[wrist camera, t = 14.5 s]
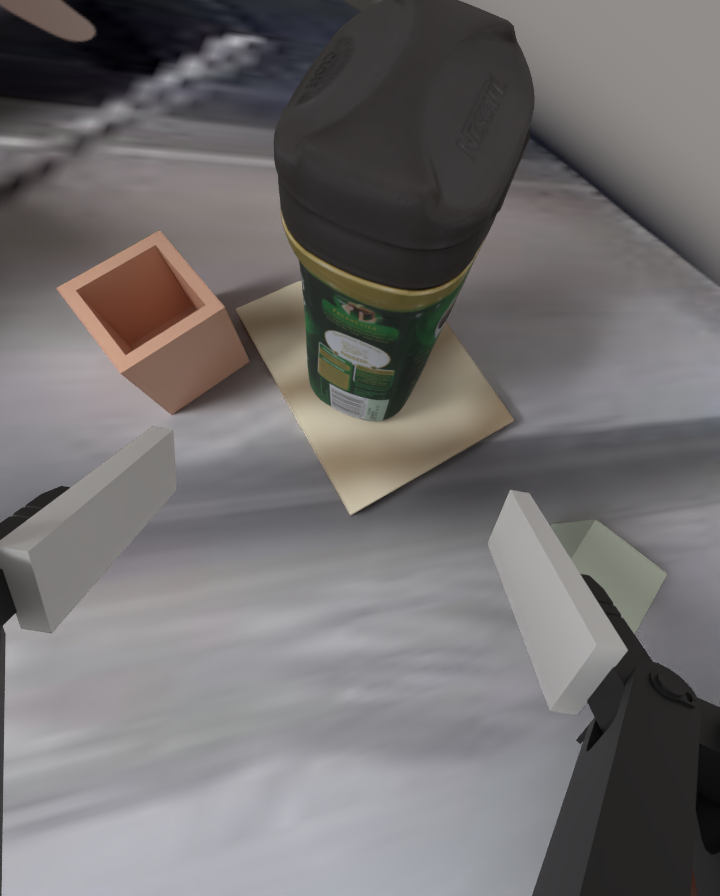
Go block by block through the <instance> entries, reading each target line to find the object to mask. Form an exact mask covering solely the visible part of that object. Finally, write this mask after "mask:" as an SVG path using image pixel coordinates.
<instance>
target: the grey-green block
mask: <svg viewBox="0 0 720 896" xmlns="http://www.w3.org/2000/svg"><path fill="white" fill-rule="evenodd" d="M550 527H551V528H552V530H553V532H554V533H555V535H556V536H557V538H558V540H559V541H560V543H561V544H562V546H563V548H564V549H565V551H566V552H567V554H568V555H569V557H570V559H571V560H572V562H573V563H574V565H575V567H576V568H577V570H578V571H579V573H580V574H585V575H590V576H591V577H592V578H593V579H594V580H595V581H596V582H597V583H598V584H599V585H600V586H601V587H602V588H604V590H605V591H606V593H607V594H608V596H609V597H610V599H611V600H612V602H613V606H616V608H617V609H618V611H619V612H620V614H621V618H624V620H625V621H626V623H627V624H628V626H629V627H630V629H631V630H632V632H633V633H634V635H635V633H636V631H637V629H638V627H639V625H640V624H641V622H642V620H643V618H644V616H645V614H646V613H647V611H648V609H649V607H650V605H651V603H652V601H653V600H654V598H655V596H656V594H657V592H658V590H659V589H660V587H661V585H662V583H663V581H664V579H665V578H666V576H667V573H666V572H664V571H663V570H662V569H660V568H659V567H658V566H656V565H655V564H654V563H653V562H651V561H650V560H649V559H647V558H646V557H645V556H643V555H642V554H641V553H640V552H638V551H637V550H636V549H634V548H633V547H632V546H630V545H629V544H628V543H626V542H625V541H624V540H623V539H621V538H620V537H619V536H617V535H616V534H615V533H613V532H612V531H611V530H609V529H608V528H607V527H606V526H604V525H603V524H602V523H600V522H599V521H598V520H596V519H592V520H583V521H575V522H566V523H557V524H551V525H550Z"/></svg>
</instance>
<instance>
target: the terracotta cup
mask: <svg viewBox="0 0 720 896" xmlns="http://www.w3.org/2000/svg"><path fill="white" fill-rule="evenodd" d="M56 289H57V290H58V291H59V293H60V294H61V295H62V297H63V298H64V299H65V301H66V302H67V303H68V305H69V306H70V307H71V309H72V310H73V311H74V312H75V314H76V315H77V316H78V318H79V319H80V320H81V322H82V323H83V324H84V326H85V327H86V328H87V330H88V331H89V332H90V334H91V335H92V336H93V338H94V339H95V340H96V342H97V343H98V344H99V346H100V347H101V348H102V350H103V351H104V352H105V354H106V355H107V356H108V357H109V359H110V360H111V361H112V363H113V364H114V365H115V367H116V368H117V369H118V371H119V372H120V373H121V374H122V375H123V376H124V377H126V378H127V379H128V380H129V381H131V382H132V383H133V384H134V385H135V386H137V387H138V388H139V389H140V390H142V391H143V392H144V393H145V394H147V395H148V396H149V397H150V398H151V399H153V400H154V401H155V402H156V403H158V404H159V405H160V406H161V407H163V408H164V409H165V410H166V411H167V412H169V413H170V414H171V415H172V414H174V413H175V412H177V411H178V410H180V409H181V408H183V407H184V406H185V405H187V404H188V403H190V402H191V401H193V400H194V399H196V398H197V397H199V396H200V395H202V394H203V393H205V392H206V391H208V390H209V389H210V388H212V387H213V386H215V385H216V384H218V383H219V382H221V381H222V380H224V379H225V378H227V377H228V376H230V375H231V374H233V373H234V372H235V371H237V370H238V369H240V368H241V367H243V366H244V365H246V364H247V363H249V362H250V361H249V358H248V356H247V354H246V352H245V350H244V348H243V345H242V343H241V341H240V339H239V337H238V335H237V332H236V330H235V328H234V326H233V324H232V321H231V319H230V317H229V315H228V313H227V311H226V308H225V307H224V305H223V304H222V303H221V302H220V301H219V300H218V298H217V297H216V296H215V295H214V294H213V292H212V291H211V290H210V289H209V288H208V287H207V285H206V284H205V283H204V282H203V281H202V280H201V278H200V277H199V276H198V275H197V274H196V272H195V271H194V270H193V269H192V268H191V267H190V265H189V264H188V263H187V262H186V261H185V259H184V258H183V257H182V256H181V255H180V254H179V252H178V251H177V250H176V249H175V248H174V246H173V245H172V244H171V243H170V242H169V241H168V239H167V238H166V237H165V236H164V235H163V233H162V232H161V231H160V230H159V231H157V232H155V233H154V234H152V235H150V236H148V237H147V238H145V239H143V240H141V241H139V242H138V243H136V244H134V245H132V246H131V247H129V248H127V249H125V250H123V251H122V252H120V253H118V254H116V255H114V256H113V257H111V258H109V259H107V260H106V261H104V262H102V263H100V264H98V265H97V266H95V267H93V268H91V269H89V270H88V271H86V272H84V273H82V274H81V275H79V276H77V277H75V278H73V279H72V280H70V281H68V282H66V283H64V284H63V285H61V286H59V287H57V288H56Z"/></svg>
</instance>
